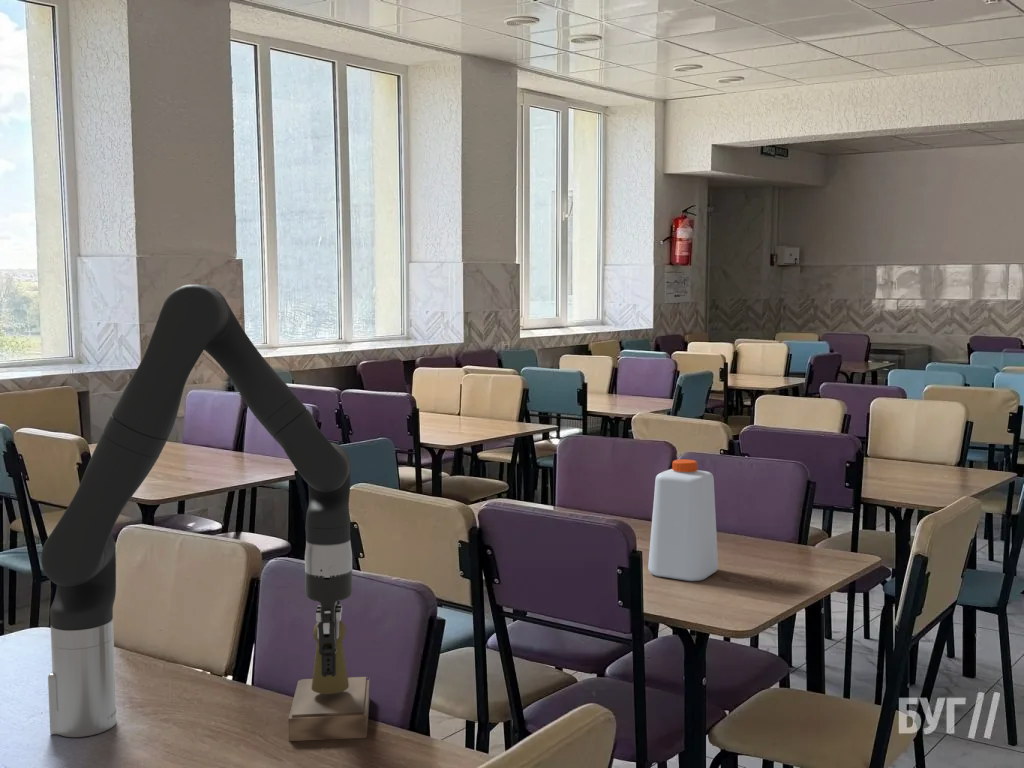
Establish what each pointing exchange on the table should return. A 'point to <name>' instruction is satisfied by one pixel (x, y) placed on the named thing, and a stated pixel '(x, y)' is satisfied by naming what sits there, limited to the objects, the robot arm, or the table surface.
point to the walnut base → (329, 712)
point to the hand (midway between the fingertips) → (329, 670)
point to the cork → (340, 679)
